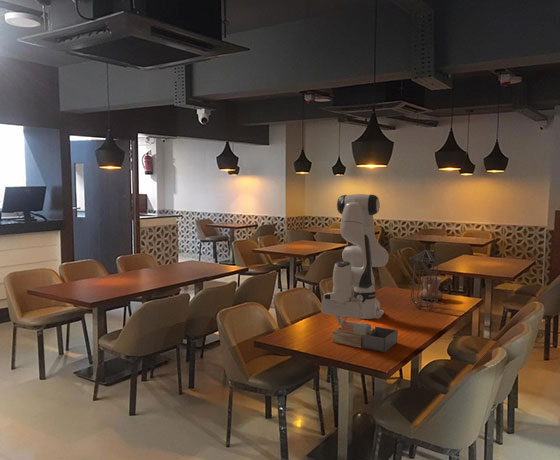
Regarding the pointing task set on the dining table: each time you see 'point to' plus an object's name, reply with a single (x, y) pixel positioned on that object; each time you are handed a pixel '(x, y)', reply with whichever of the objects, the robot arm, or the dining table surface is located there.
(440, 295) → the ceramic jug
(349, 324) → the terracotta tile
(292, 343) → the dining table surface
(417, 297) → the geometric lantern
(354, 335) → the board
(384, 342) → the tray
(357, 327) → the blue-grey tile
